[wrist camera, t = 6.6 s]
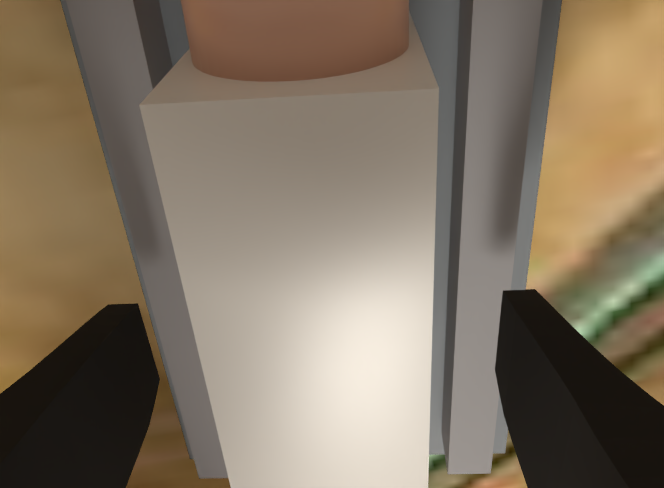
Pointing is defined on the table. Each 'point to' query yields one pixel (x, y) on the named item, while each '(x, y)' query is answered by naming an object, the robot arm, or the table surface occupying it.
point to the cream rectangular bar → (305, 233)
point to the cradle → (451, 194)
